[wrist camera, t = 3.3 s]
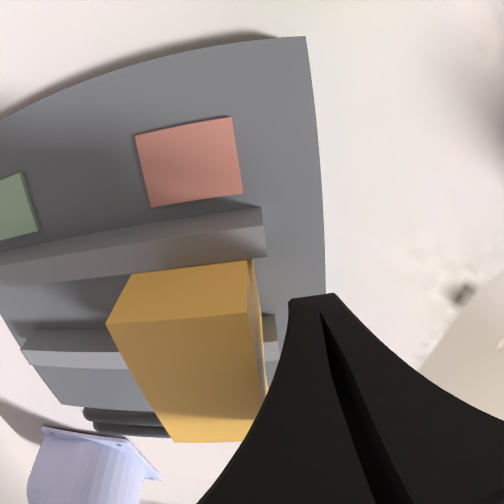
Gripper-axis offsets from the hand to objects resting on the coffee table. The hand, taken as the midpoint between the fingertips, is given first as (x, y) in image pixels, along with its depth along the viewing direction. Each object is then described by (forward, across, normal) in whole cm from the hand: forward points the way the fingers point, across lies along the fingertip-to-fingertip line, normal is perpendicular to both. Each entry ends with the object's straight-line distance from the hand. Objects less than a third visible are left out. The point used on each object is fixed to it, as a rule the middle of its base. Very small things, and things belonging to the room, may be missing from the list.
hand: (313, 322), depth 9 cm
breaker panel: (+4, +7, +2) cm, 8 cm away
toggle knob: (+2, +3, 0) cm, 4 cm away
